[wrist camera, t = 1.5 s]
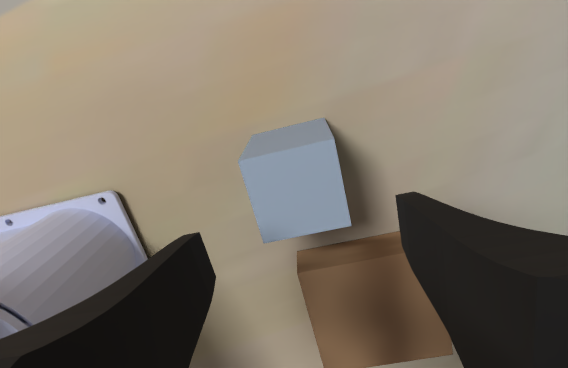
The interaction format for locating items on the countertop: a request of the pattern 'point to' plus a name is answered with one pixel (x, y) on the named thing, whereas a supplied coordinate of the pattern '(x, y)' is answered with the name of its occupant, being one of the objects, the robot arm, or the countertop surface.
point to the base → (368, 304)
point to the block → (295, 181)
